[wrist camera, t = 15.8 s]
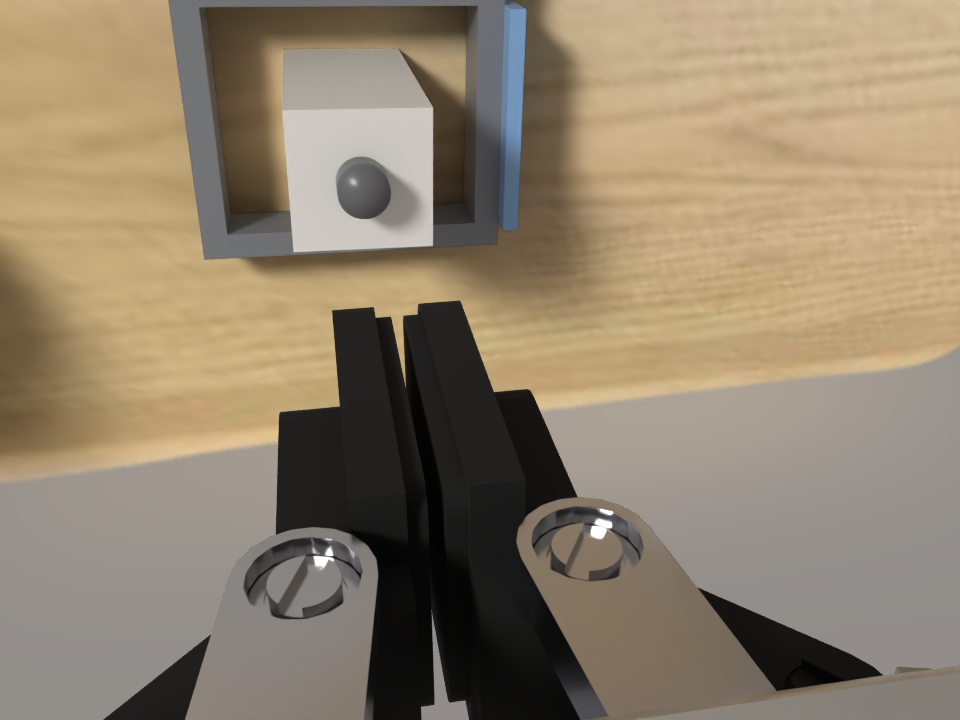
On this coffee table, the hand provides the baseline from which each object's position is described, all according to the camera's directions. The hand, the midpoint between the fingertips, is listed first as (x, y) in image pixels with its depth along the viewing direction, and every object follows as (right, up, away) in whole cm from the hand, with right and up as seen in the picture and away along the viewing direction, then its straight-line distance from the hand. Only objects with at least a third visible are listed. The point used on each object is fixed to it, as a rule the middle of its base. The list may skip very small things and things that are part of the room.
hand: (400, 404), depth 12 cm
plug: (-4, +11, +25) cm, 27 cm away
